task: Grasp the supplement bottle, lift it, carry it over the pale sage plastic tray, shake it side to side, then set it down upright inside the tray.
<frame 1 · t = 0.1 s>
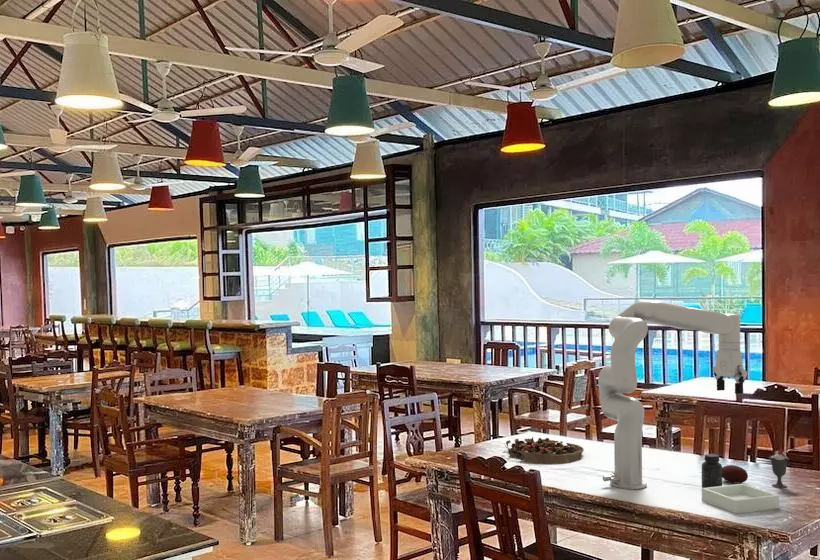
hand: (729, 391, 297), 31 cm above the table, fingers open, 9 cm apart
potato: (734, 483, 286), on the table
tray: (739, 504, 258), on the table
supplement bottle: (712, 490, 276), on the table
food dish: (543, 456, 333), on the table
sundae: (779, 487, 280), on the table
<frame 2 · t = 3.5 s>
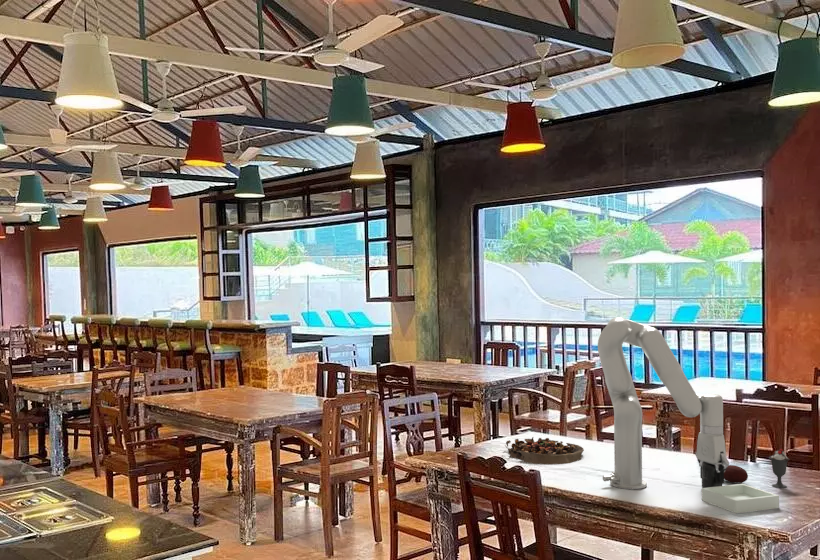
hand: (712, 480, 276), 3 cm above the table, fingers closed on supplement bottle, 6 cm apart
supplement bottle: (712, 490, 276), on the table, touching gripper
everything else where it was.
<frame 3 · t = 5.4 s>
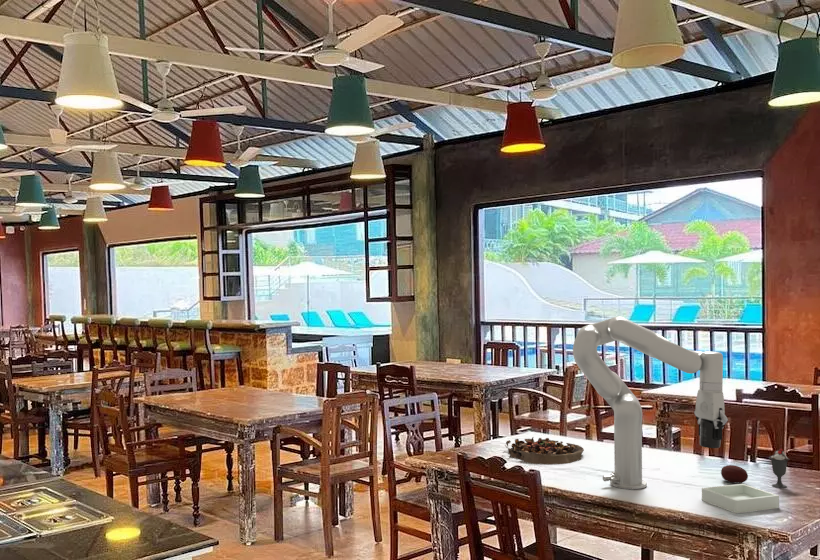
hand: (710, 437, 276), 18 cm above the table, fingers closed on supplement bottle, 6 cm apart
supplement bottle: (710, 447, 276), point 15 cm above the table, touching gripper
everything else where it was.
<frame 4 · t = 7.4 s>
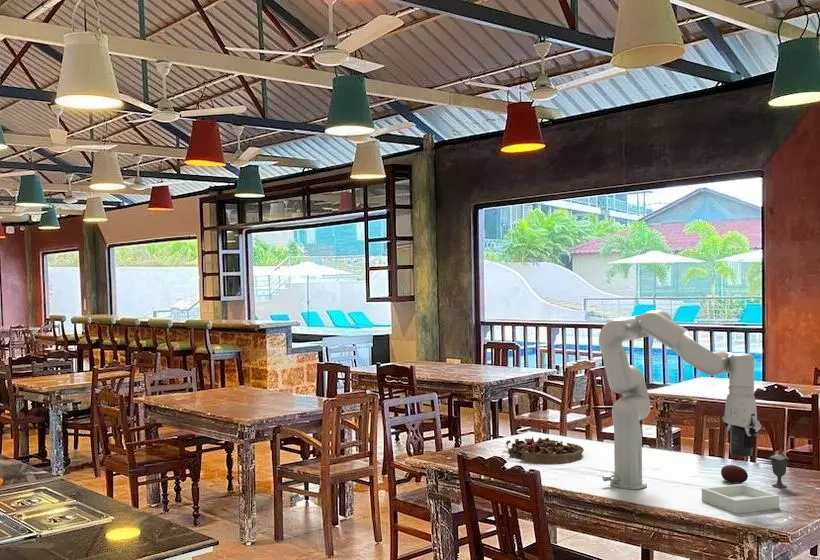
hand: (741, 445, 259), 19 cm above the table, fingers closed on supplement bottle, 6 cm apart
supplement bottle: (741, 455, 259), point 16 cm above the table, touching gripper
everything else where it was.
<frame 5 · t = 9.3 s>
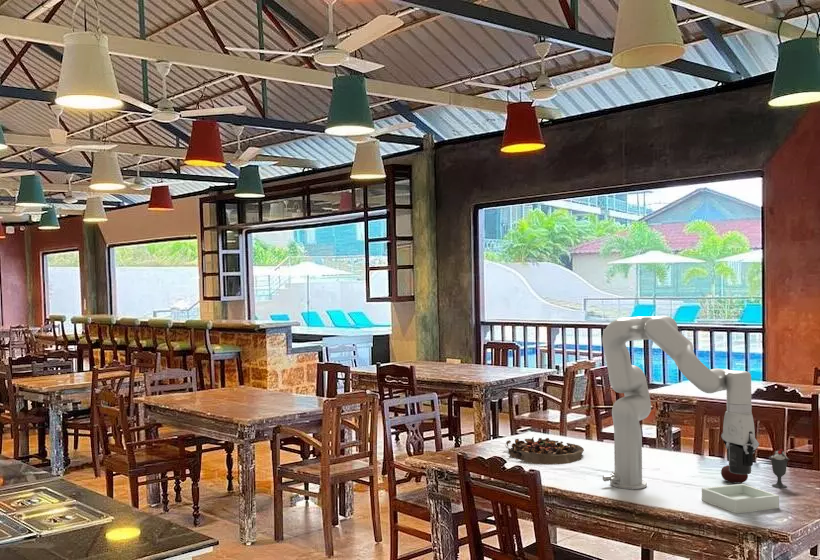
hand: (739, 462, 258), 13 cm above the table, fingers closed on supplement bottle, 6 cm apart
supplement bottle: (740, 473, 258), point 10 cm above the table, touching gripper
everything else where it was.
when the fingers open (6 cm above the table, at t = 11.1 s): supplement bottle drops 2 cm, resting on tray.
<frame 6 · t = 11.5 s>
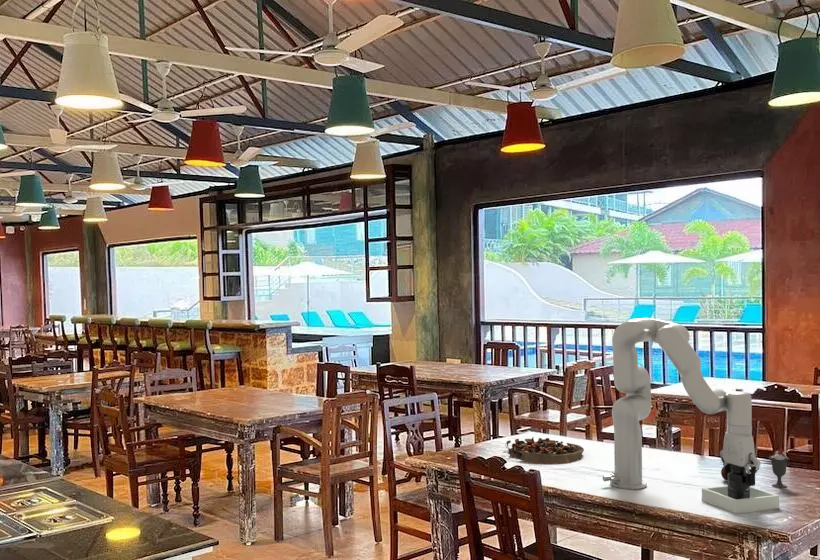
hand: (739, 482, 258), 7 cm above the table, fingers open, 9 cm apart
supplement bottle: (738, 501, 258), point 1 cm above the table, touching tray
everything else where it was.
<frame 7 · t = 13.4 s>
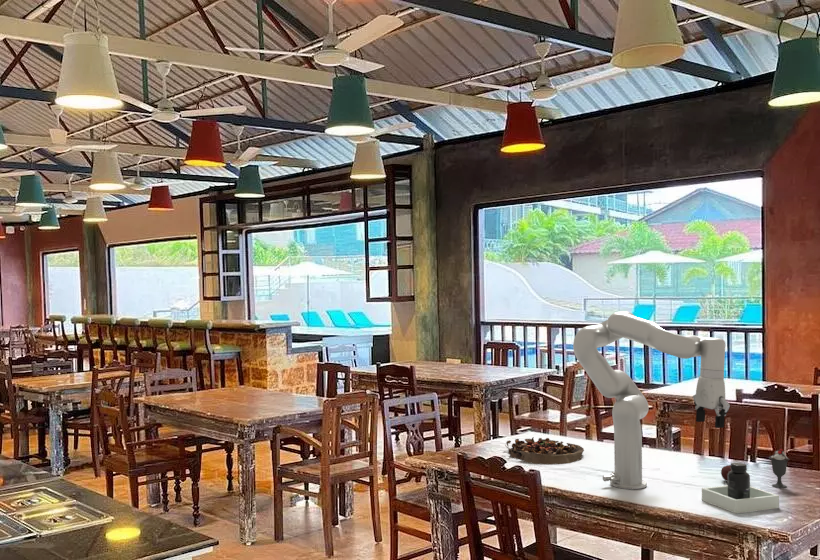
hand: (709, 424, 267), 24 cm above the table, fingers open, 9 cm apart
nothing on the table moved.
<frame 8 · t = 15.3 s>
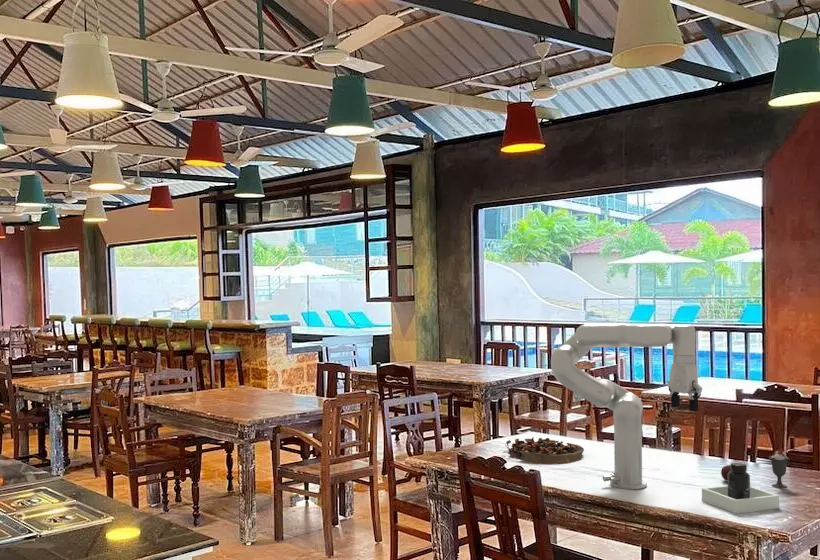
hand: (684, 408, 276), 28 cm above the table, fingers open, 9 cm apart
nothing on the table moved.
at the end: supplement bottle inside the target area on the tray (0.4 cm from its centre), point 0.8 cm above the tray's base; supplement bottle tilted 0°; the gripper is holding nothing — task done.
